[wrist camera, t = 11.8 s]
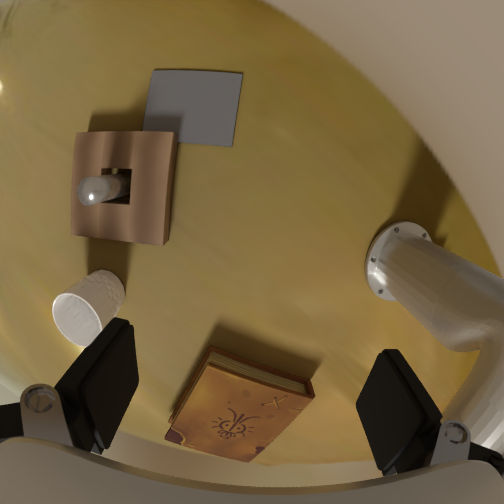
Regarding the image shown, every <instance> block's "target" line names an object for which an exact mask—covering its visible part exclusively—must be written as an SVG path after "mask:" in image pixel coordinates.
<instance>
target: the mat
mask: <svg viewBox="0 0 504 504" xmlns="http://www.w3.org/2000/svg"><path fill="white" fill-rule="evenodd" d="M242 76H243V74H236V73H225V72H211V71H188V70H158V71H153V73H152V77H151V82H150V87H149V92H148V98H147V103H146V109H145V115H144V122H143V129H142V131H158V132H174V133H176V134H178V139H177V142H180V143H194V144H207V145H217V146H227V147H232V142H233V135H234V128H235V121H236V114H237V108H238V101H239V95H240V88H241V82H242Z"/></svg>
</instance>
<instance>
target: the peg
mask: <svg viewBox="0 0 504 504" xmlns="http://www.w3.org/2000/svg"><path fill="white" fill-rule="evenodd" d="M131 177H132V176H131V175H130V174H127V173H122V174H111V175H101V176H92V177H86V178H84V179H82V180H81V181H80V183H79V185H78V188H77V195H78V198H79V200H80V201H81V203H83V204H84V205H87V206H90V205H94V204H97V203H100V202H104V201H107V200H111V199H114V198H117V197H121V196H125V195H128V194H130V191H131Z"/></svg>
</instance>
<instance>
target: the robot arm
mask: <svg viewBox="0 0 504 504" xmlns="http://www.w3.org/2000/svg"><path fill="white" fill-rule="evenodd" d="M394 229H395V230H394ZM371 258H372V259H371ZM365 275H366V279H367V282H368V284H369V286H370V288H371V289H372V291H373V292H374V293H375V294H376V295H377V296H379V297H380V298H382V299H384V300H387V301H398V302H400V303H401V304H402V305H403V306H404V307H405V308H406V309H407V310H408V311H409V312H410V313H411V314H412V315H413V316H414V317H415V318H416V319H417V320H418V321H419V322H420V323H421V324H422V325H423V326H424V327H425V328H426V329H427V330H428V331H429V332H430V333H431V334H432V335H433V336H434V337H435V338H436V339H437V340H438V341H439V342H440V343H441V344H442V345H443V346H444V347H446V348H448V349H449V350H452V351H455V352H470V351H476V350H480V354H479V356H478V358H477V360H476V362H475V364H474V366H473V367H472V370H471V371H470V373H469V375H468V376H467V378H466V379H465V381H464V382H463V384H462V385H461V387H460V388H459V390H458V391H457V393H456V394H455V396H454V397H453V398H452V400H451V401H450V403H449V404H448V406H447V407H446V408H445V410H444V411H443V413H442V414H441V412H440V411H439V409H438V408H437V406H436V405H435V403H434V401H433V400H432V398H431V397H430V395H429V394H428V392H427V391H426V389H425V388H424V386H423V385H422V383H421V382H420V380H419V379H418V377H417V376H416V374H415V373H414V371H413V370H412V368H411V367H410V366H409V364H408V363H407V361H406V360H405V358H404V357H403V355H402V354H401V353H400V351H399V350H398V349H384V350H383V351H382V353H379V354H378V356H377V358H376V361H375V363H374V365H373V368H372V370H371V372H370V374H369V376H368V378H367V381H366V383H365V385H364V387H363V389H362V391H361V393H360V395H359V397H358V399H357V402H356V409H357V412H358V414H359V417H360V420H361V422H362V425H363V428H364V431H365V433H366V436H367V439H368V442H369V445H370V447H371V450H372V453H373V456H374V459H375V462H376V465H377V468H378V469H379V470H381V471H382V474H383V476H386V477H381V478H376V479H371V480H365V481H359V482H352V483H344V484H335V485H324V486H310V487H251V486H237V485H226V484H216V483H209V482H202V481H196V480H190V479H184V478H179V477H174V476H169V475H164V474H160V473H156V472H152V471H148V470H145V469H140V468H137V467H133V466H130V465H126V464H123V463H120V462H117V461H113V460H110V459H107V458H104V457H102V456H99V455H96V454H93V453H90V452H91V451H92V452H95V453H97V454H100V455H101V454H102V452H103V450H104V449H108V448H109V447H110V444H111V442H112V440H113V438H114V436H115V433H116V431H117V429H118V427H119V425H120V423H121V420H122V418H123V416H124V414H125V412H126V410H127V408H128V405H129V403H130V401H131V399H132V397H133V395H134V393H135V391H136V389H137V386H138V383H139V375H138V367H137V359H136V349H135V338H134V327H133V325H130V323H129V321H128V320H125V319H121V318H116V317H114V318H112V319H111V321H110V322H109V323H108V324H107V325H106V326H105V327H104V329H103V330H102V331H101V332H100V333H99V335H98V336H97V337H96V338H95V339H94V341H93V342H92V343H91V344H90V345H89V346H87V347H86V348H85V349H84V350H83V352H82V353H81V354H80V355H79V357H78V358H77V359H76V360H75V361H74V363H73V364H72V365H71V366H70V368H69V369H68V370H67V371H66V373H65V374H64V375H63V376H62V378H61V379H60V380H59V382H58V383H57V384H56V385H55V387H54V388H53V387H51V386H50V385H46V384H34V385H31V386H29V387H28V388H26V389H25V390H24V391H23V393H22V395H21V397H20V402H19V403H12V404H7V405H0V504H504V279H502V278H500V277H498V276H496V275H494V274H492V273H491V272H489V271H487V270H485V269H483V268H481V267H479V266H478V265H476V264H474V263H472V262H470V261H468V260H466V259H464V258H462V257H460V256H459V255H457V254H455V253H453V252H451V251H449V250H447V249H445V248H443V247H441V246H438V245H436V244H434V243H432V240H431V238H430V236H429V234H428V233H427V231H426V230H425V229H424V228H423V227H421V226H420V225H418V224H415V223H413V222H409V221H400V222H396V223H393V224H391V225H389V226H387V227H386V228H385V229H383V230H382V231H381V232H380V233H379V234H378V235H377V236H376V238H375V239H374V241H373V242H372V244H371V246H370V248H369V250H368V253H367V257H366V262H365ZM396 473H397V474H396ZM393 474H395V475H393ZM389 475H391V476H389Z"/></svg>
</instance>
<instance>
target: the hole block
mask: <svg viewBox="0 0 504 504" xmlns="http://www.w3.org/2000/svg"><path fill="white" fill-rule="evenodd" d="M177 139H178V134H176V133H174V132H158V131H101V132H79V133H76V139H75V148H74V158H73V171H72V190H71V235H77V236H85V237H93V238H101V239H109V240H118V241H126V242H134V243H142V244H150V245H159V246H163V245H164V244H165V243H166V242H167V241H168V240H169V226H170V212H171V200H172V189H173V179H174V169H175V160H176V152H177V144H178V142H177ZM111 168H121V169H132V177H131V191H130V201H119V200H107V201H104V202H100V203H97V204H94V205H90V206H87V205H84V204H83V203H81V201H80V200H79V198H78V195H77V188H78V185H79V183H80V181H81V180H82V179H84V178H86V177H92V176H101V175H111Z"/></svg>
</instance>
